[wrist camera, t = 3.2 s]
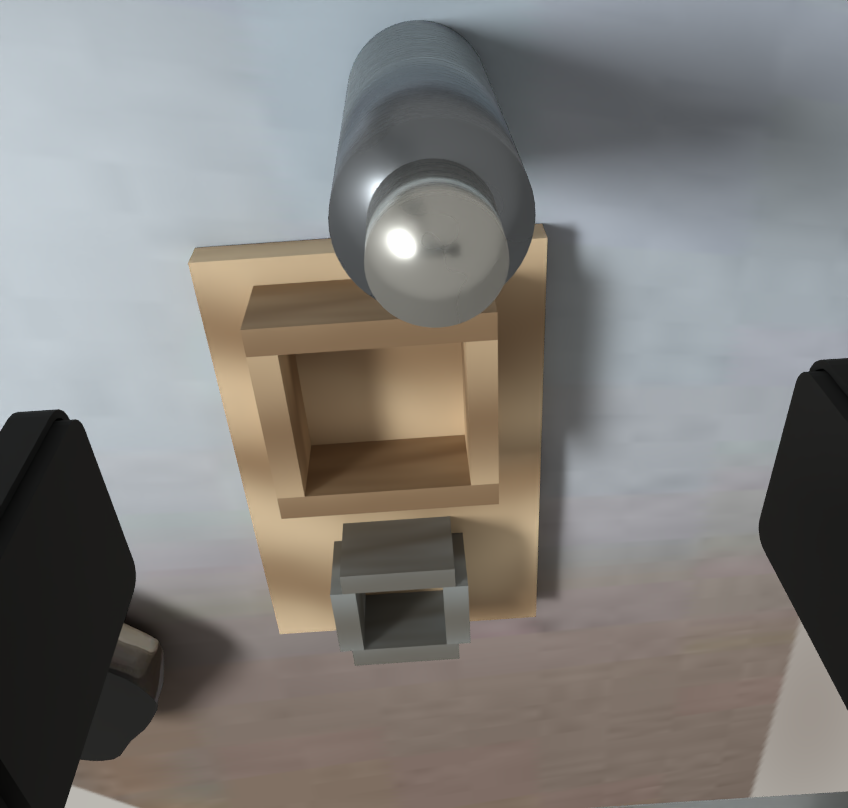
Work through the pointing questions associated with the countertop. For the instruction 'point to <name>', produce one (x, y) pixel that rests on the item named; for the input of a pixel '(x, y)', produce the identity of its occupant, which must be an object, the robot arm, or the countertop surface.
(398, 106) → the bottle
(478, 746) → the countertop surface
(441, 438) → the holder
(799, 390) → the robot arm
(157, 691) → the black sponge
